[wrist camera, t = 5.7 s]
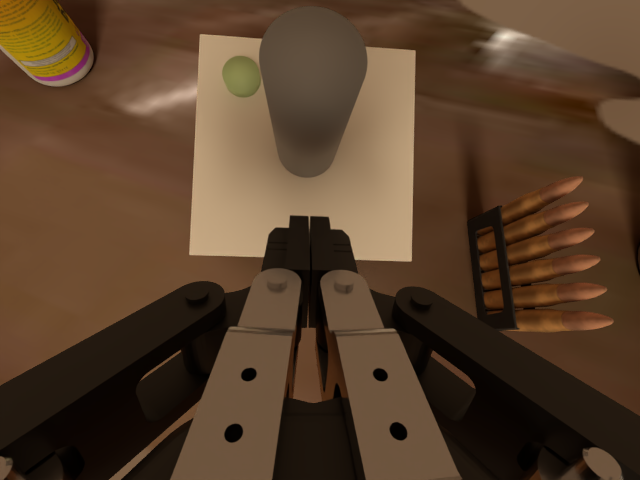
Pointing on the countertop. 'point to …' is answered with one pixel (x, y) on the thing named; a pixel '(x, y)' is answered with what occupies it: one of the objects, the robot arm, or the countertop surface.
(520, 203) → the ammunition clip
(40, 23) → the supplement bottle
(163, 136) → the countertop surface
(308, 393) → the countertop surface
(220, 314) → the robot arm
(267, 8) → the countertop surface
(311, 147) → the joystick
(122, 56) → the countertop surface
